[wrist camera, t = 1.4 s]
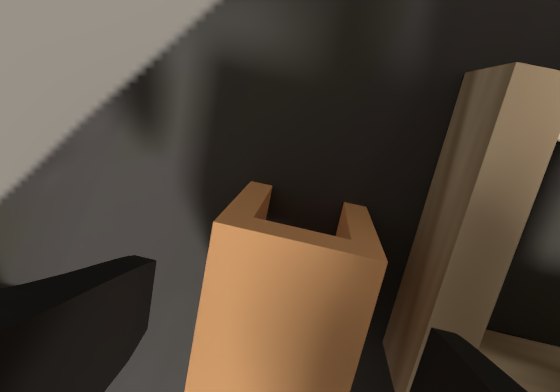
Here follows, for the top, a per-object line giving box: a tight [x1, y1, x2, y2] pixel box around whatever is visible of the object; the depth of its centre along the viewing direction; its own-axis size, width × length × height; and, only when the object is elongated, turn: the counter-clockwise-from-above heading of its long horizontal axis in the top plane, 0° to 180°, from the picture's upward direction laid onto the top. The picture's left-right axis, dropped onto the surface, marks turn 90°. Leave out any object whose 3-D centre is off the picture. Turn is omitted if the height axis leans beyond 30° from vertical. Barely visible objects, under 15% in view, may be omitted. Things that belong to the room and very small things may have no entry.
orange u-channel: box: [185, 181, 388, 392], centre depth 12 cm, size 4×5×5 cm
